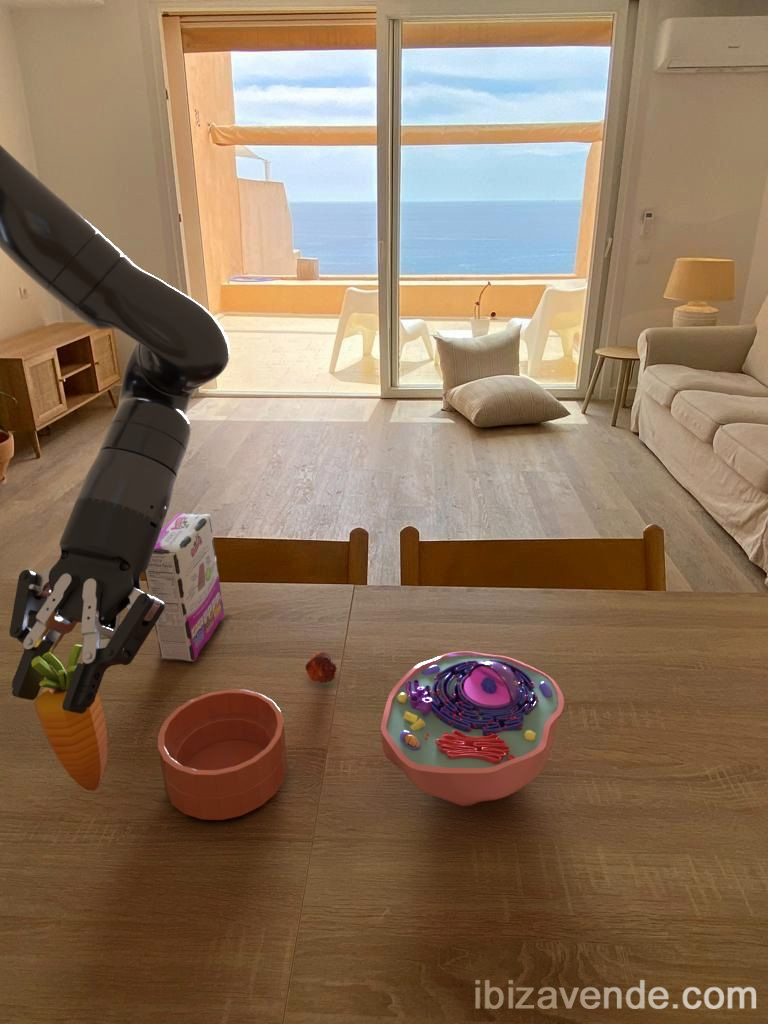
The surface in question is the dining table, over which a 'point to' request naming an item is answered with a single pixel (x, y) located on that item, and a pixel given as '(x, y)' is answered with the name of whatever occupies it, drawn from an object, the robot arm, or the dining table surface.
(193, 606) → the candy bar box
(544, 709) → the cell model
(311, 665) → the meatball
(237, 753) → the mixing bowl
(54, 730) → the carrot
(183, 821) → the dining table surface
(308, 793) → the dining table surface
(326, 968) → the dining table surface
